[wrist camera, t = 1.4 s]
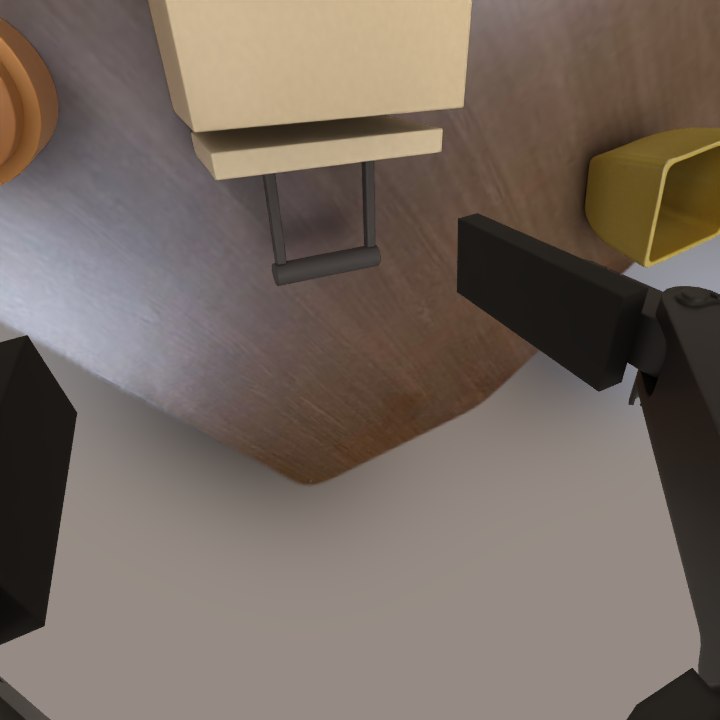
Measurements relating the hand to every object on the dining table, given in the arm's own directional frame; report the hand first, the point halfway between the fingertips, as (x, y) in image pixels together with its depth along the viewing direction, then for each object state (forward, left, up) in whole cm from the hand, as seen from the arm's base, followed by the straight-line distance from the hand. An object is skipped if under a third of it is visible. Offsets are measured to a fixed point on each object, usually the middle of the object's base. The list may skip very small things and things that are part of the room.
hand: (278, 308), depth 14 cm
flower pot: (+36, -4, -20) cm, 41 cm away
